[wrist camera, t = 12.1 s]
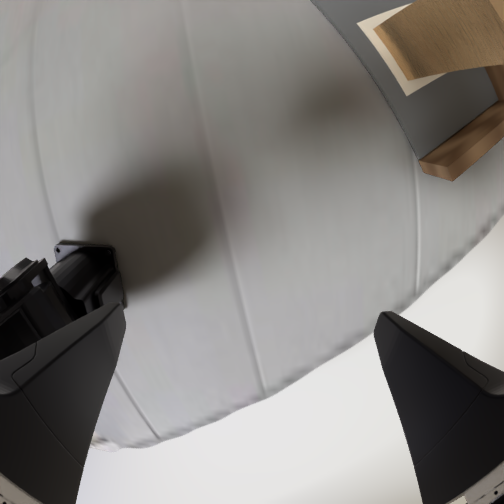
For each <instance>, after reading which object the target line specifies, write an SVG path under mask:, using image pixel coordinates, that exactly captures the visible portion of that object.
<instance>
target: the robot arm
mask: <svg viewBox="0 0 504 504" xmlns="http://www.w3.org/2000/svg"><path fill="white" fill-rule="evenodd" d="M58 248H59V249H60V250H59V249H58ZM108 250H109V251H110V252H111V254H109V253H108ZM54 252H55V257H56V261H57V263H56V264H55V265H53V266H52V267H51V268H50V269H49V268H48V266H47V265H48V263H47V261H46V259H45V258H43V259H42V260H40V261H38V260H36V261H31V260H29V259H28V258H25V259H23V260H22V261H20V262H19V263H18V264H16V265H15V266H14V267H12V268H11V269H10V270H9V271H7V272H6V273H5V274H4V275H3V276H2V277H1V278H0V504H76V499H77V495H78V490H79V485H80V481H81V477H82V473H83V467H84V465H85V461H86V457H87V454H88V450H89V446H90V443H91V439H92V436H93V433H94V429H95V426H96V423H97V420H98V417H99V414H100V410H101V407H102V404H103V401H104V398H105V396H106V393H107V390H108V387H109V384H110V381H111V379H112V376H113V373H114V370H115V367H116V365H117V361H118V357H119V353H120V349H121V345H122V341H123V338H124V334H125V330H126V321H125V316H124V311H123V310H124V304H123V297H124V294H123V289H122V283H121V276H120V272H119V270H118V268H117V261H116V254H115V249H114V248H113V247H112V246H109V245H86V244H63V243H59V244H57V245H56V246H55V247H54ZM374 338H375V342H376V345H377V349H378V353H379V357H380V360H381V365H382V368H383V371H384V374H385V377H386V380H387V383H388V385H389V388H390V391H391V394H392V397H393V400H394V402H395V406H396V409H397V412H398V415H399V417H400V420H401V424H402V427H403V430H404V433H405V437H406V440H407V444H408V447H409V450H410V454H411V457H412V461H413V465H414V469H415V473H416V477H417V481H418V485H419V489H420V493H421V497H422V502H423V504H449V503H451V502H453V501H455V500H457V499H458V498H460V497H462V496H465V499H466V501H467V503H466V504H504V372H503V371H501V370H499V369H497V368H495V367H493V366H490V365H489V364H487V363H485V362H483V361H480V360H479V359H477V358H475V357H473V356H471V355H469V354H468V353H466V352H462V350H461V349H459V348H457V347H455V346H453V345H451V344H450V343H448V342H446V341H445V340H443V339H441V338H439V337H437V336H436V335H434V334H432V333H430V332H428V331H427V330H425V329H423V328H421V327H419V326H417V325H416V324H414V323H412V322H410V321H408V320H407V319H405V318H403V317H401V316H399V315H397V314H396V313H394V312H392V311H384V312H381V313H380V315H379V317H378V320H377V323H376V326H375V329H374Z"/></svg>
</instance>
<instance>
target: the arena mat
mask: <svg viewBox="0 0 504 504" xmlns="http://www.w3.org/2000/svg"><path fill="white" fill-rule="evenodd" d="M310 1H311V2H312V3H313V4H314V5H315V6H316V7H317V8H318V9H319V10H320V11H321V12H322V13H323V15H324V16H325V17H326V18H327V19H328V20H329V21H330V23H331V24H332V25H333V26H334V27H335V28H336V30H337V31H338V32H339V33H340V34H341V36H342V37H343V38H344V39H345V41H346V42H347V43H348V45H349V46H350V47H351V49H352V50H353V51H354V52H355V54H356V55H357V57H358V58H359V59H360V61H361V62H362V63H363V65H364V66H365V68H366V69H367V71H368V72H369V74H370V75H371V77H372V78H373V80H374V81H375V83H376V84H377V86H378V87H379V89H380V90H381V92H382V94H383V95H384V97H385V99H386V100H387V102H388V104H389V105H390V107H391V109H392V110H393V112H394V114H395V116H396V117H397V119H398V121H399V123H400V125H401V127H402V128H403V130H404V132H405V134H406V136H407V138H408V140H409V142H410V144H411V146H412V148H413V150H414V152H415V154H416V156H417V159H421V158H422V157H424V156H425V155H426V154H428V153H429V152H430V151H432V150H433V149H434V148H436V147H437V146H438V145H440V144H441V143H442V142H444V141H445V140H446V139H448V138H449V137H450V136H452V135H453V134H454V133H456V132H457V131H458V130H460V129H461V128H462V127H464V126H465V125H466V124H468V123H469V122H470V121H472V120H473V119H474V118H476V117H477V116H478V115H479V114H481V113H482V112H483V111H485V110H486V109H487V108H489V107H490V106H491V105H492V104H494V103H495V102H496V101H498V97H497V95H496V92H495V90H494V87H493V85H492V83H491V81H490V78H489V76H488V74H487V72H486V70H485V68H484V67H477V68H470V69H464V70H458V71H452V72H447V73H441V74H436V75H432V76H427V77H423V78H418V79H414V80H410V81H408V80H407V78H406V77H405V75H404V74H403V72H402V70H401V69H400V67H399V66H398V64H397V63H396V61H395V60H394V58H393V57H392V55H391V54H390V52H389V51H388V49H387V48H386V46H385V45H384V44H383V42H382V41H381V39H380V38H379V37H378V35H377V34H376V33H375V31H374V30H373V29H374V28H375V27H377V26H378V25H380V24H381V23H382V22H384V21H385V20H387V19H388V18H390V17H391V16H393V15H394V14H396V13H397V12H399V11H401V10H402V9H404V8H405V7H407V6H408V5H410V4H412V3H413V2H415V1H417V0H310Z"/></svg>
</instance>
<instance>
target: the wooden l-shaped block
mask: <svg viewBox="0 0 504 504" xmlns="http://www.w3.org/2000/svg"><path fill="white" fill-rule="evenodd" d="M373 30H374V31H375V33H376V34H377V35H378V37H379V38H380V39H381V41H382V42H383V44H384V45H385V46H386V48H387V49H388V51H389V52H390V54H391V55H392V57H393V58H394V60H395V61H396V63H397V64H398V66H399V67H400V69H401V70H402V72H403V74H404V75H405V77H406V78H407V80H408V81H410V80H414V79H418V78H423V77H427V76H432V75H436V74H441V73H447V72H452V71H458V70H464V69H470V68H477V67H485V66H493V65H504V0H417V1H415V2H413V3H412V4H410V5H408V6H407V7H405V8H404V9H402V10H401V11H399V12H397V13H396V14H394V15H393V16H391V17H390V18H388V19H387V20H385V21H384V22H382V23H381V24H380V25H378V26H377V27H375V28H374V29H373Z"/></svg>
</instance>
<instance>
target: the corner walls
mask: <svg viewBox="0 0 504 504" xmlns="http://www.w3.org/2000/svg"><path fill="white" fill-rule="evenodd" d="M484 68H485V70H486V72H487V74H488V76H489V78H490V81H491V83H492V85H493V87H494V90H495V92H496V95H497V97H498V101H497V102H495V103H494V104H493V105H491V106H490V107H489V108H488V109H486V110H485V111H484V112H482V113H481V114H480V115H479V116H477V117H476V118H475V119H473V120H472V121H471V122H469V123H468V124H467V125H465V126H464V127H463V128H461V129H460V130H459V131H458V132H456V133H455V134H454V135H452V136H451V137H450V138H448V139H447V140H446V141H444V142H443V143H442V144H440V145H439V146H437V147H436V148H435V149H433V150H432V151H431V152H429V153H428V154H427V155H425V156H424V157H423V158H421V159H420V160H419V163H420V165H421V167H422V170H423V172H424V173H427V174H430V175H433V176H437V177H440V178H443V179H446V180H450V181H454V180H455V179H456V178H457V177H458V176H460V175H461V174H462V173H463V172H464V171H466V170H467V169H468V168H469V167H470V166H471V165H473V164H474V163H475V162H476V161H477V160H478V159H479V158H481V157H482V156H483V155H484V154H485V153H486V152H487V151H488V150H490V149H491V148H492V147H493V146H494V145H495V144H496V143H497V142H498V141H499V140H501V139H502V138H503V137H504V65H493V66H485V67H484Z"/></svg>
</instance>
